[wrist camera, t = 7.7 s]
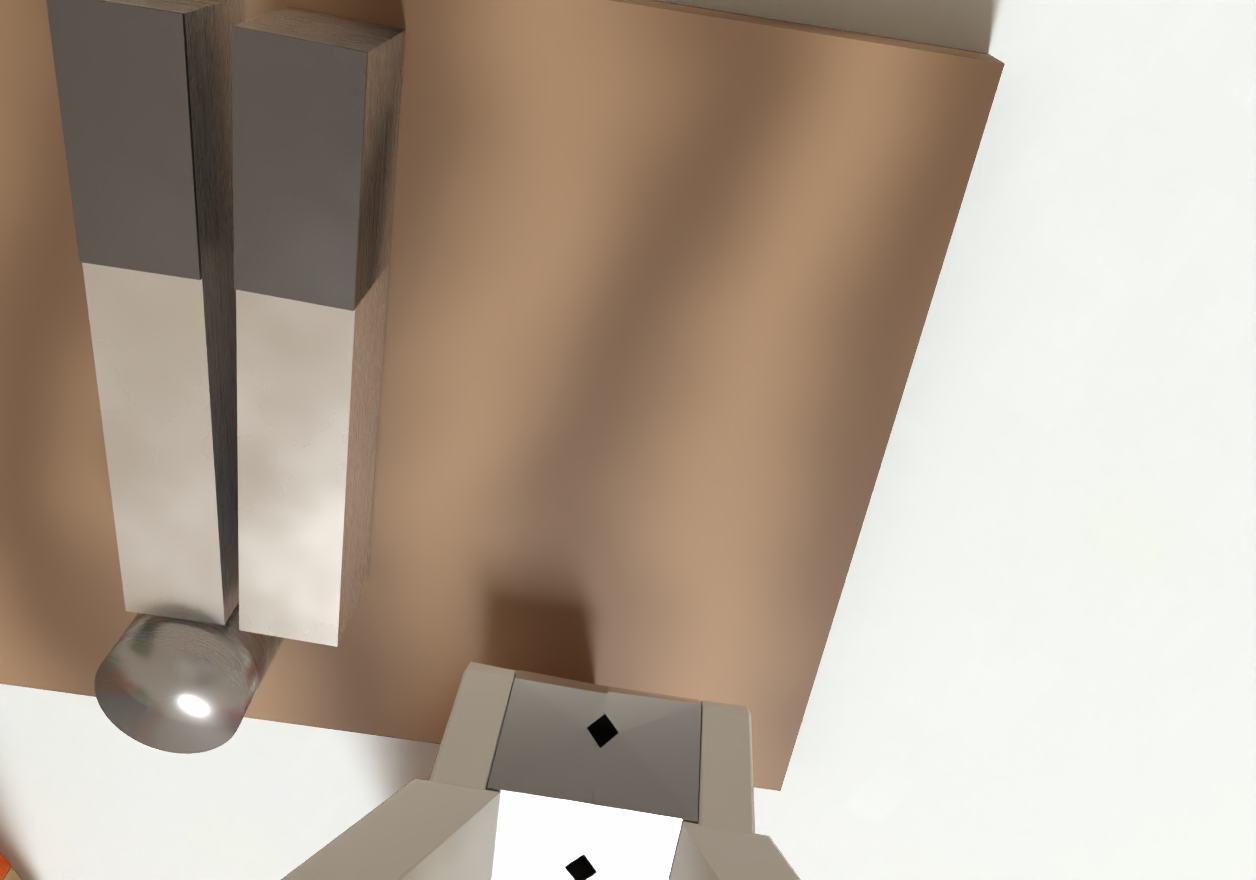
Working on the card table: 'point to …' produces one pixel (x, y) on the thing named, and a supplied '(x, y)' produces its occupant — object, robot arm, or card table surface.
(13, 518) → the board
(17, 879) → the stack of blocks
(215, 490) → the tongs fixed arm
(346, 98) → the tongs arm
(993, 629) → the card table surface
